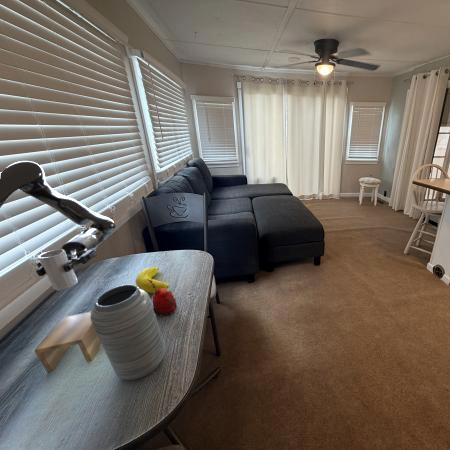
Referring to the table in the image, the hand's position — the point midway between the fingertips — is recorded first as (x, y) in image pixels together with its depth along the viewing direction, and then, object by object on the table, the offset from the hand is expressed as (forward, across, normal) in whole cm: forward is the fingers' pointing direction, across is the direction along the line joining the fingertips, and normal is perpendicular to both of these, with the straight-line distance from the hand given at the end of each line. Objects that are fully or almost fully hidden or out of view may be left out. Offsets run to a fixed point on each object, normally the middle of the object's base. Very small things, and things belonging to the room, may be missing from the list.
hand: (52, 271), depth 69 cm
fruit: (-20, +16, +22) cm, 34 cm away
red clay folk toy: (+1, +25, +22) cm, 33 cm away
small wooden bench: (+9, +4, +22) cm, 24 cm away
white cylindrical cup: (-3, 0, +6) cm, 7 cm away
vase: (+22, +23, +22) cm, 38 cm away
